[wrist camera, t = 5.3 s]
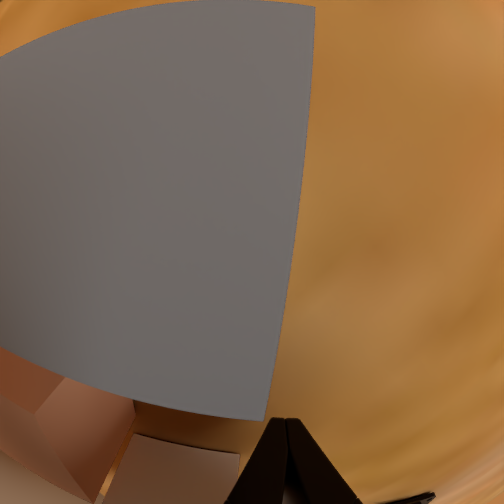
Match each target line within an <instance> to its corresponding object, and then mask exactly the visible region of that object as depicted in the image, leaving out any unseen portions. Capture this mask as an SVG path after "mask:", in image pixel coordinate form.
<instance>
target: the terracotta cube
mask: <svg viewBox="0 0 504 504" xmlns="http://www.w3.org/2000/svg"><path fill="white" fill-rule="evenodd" d="M135 416H136V414H135V409H134V404H133V400H132V399H130V398H127V397H123V396H120V395H116V394H113V393H110V392H107V391H103V390H100V389H97V388H94V387H91V386H89V385H86V384H83V383H80V382H77V381H75V380H72V379H70V378H67V377H64V376H62V375H59V374H57V373H55V372H52V371H50V370H47V369H45V368H43V367H41V366H38V365H36V364H34V363H32V362H30V361H28V360H26V359H24V358H21V357H19V356H17V355H15V354H14V353H12V352H10V351H8V350H6V349H4V348H2V347H0V450H2V451H3V452H4V453H6V454H7V455H8V456H10V457H11V458H13V459H14V460H15V461H17V462H18V463H20V464H21V465H23V466H24V467H26V468H27V469H29V470H30V471H32V472H33V473H35V474H37V475H38V476H40V477H42V478H43V479H45V480H47V481H48V482H50V483H52V484H54V485H56V486H57V487H59V488H61V489H63V490H65V491H67V492H69V493H71V494H73V495H75V496H77V497H79V498H81V499H83V500H86V501H88V502H90V503H92V504H94V502H95V500H96V498H97V496H98V494H99V491H100V489H101V487H102V485H103V483H104V481H105V478H106V476H107V474H108V472H109V470H110V468H111V466H112V464H113V461H114V459H115V457H116V455H117V453H118V451H119V449H120V447H121V445H122V443H123V441H124V439H125V436H126V434H127V432H128V430H129V428H130V426H131V424H132V422H133V420H134V418H135Z"/></svg>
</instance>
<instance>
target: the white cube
mask: <svg viewBox="0 0 504 504" xmlns="http://www.w3.org/2000/svg"><path fill="white" fill-rule="evenodd" d="M239 459H240V454H233V453H224V452H217V451H210V450H204V449H198V448H193V447H188V446H183V445H178V444H173V443H169V442H164V441H160V440H156V439H152V438H149V437H145V436H141V435H138V434H133V436H132V438H131V440H130V442H129V444H128V447H127V449H126V451H125V453H124V455H123V457H122V460H121V462H120V464H119V466H118V469H117V471H116V473H115V475H114V477H113V480H112V482H111V484H110V486H109V489H108V491H107V493H106V496H105V498H104V500H103V503H102V504H223V503H224V502H225V500H227V497H228V496H229V494H230V492H231V491H232V489H233V487H234V485H235V484H236V482H237V479H238V469H239Z"/></svg>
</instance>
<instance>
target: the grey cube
mask: <svg viewBox="0 0 504 504" xmlns="http://www.w3.org/2000/svg"><path fill="white" fill-rule="evenodd" d="M314 28H315V7H313V6H306V5H300V4H292V3H283V2H273V1H260V0H199V1H185V2H175V3H167V4H159V5H152V6H146V7H141V8H135V9H130V10H125V11H121V12H117V13H112V14H108V15H104V16H101V17H97V18H94V19H90V20H87V21H84V22H80V23H77V24H74V25H71V26H69V27H66V28H63V29H60V30H58V31H55V32H52V33H50V34H47V35H45V36H43V37H40V38H38V39H36V40H33V41H31V42H29V43H27V44H25V45H23V46H21V47H19V48H17V49H15V50H13V51H11V52H9V53H7V54H5V55H3V56H1V57H0V347H2V348H4V349H6V350H8V351H10V352H12V353H14V354H15V355H17V356H19V357H21V358H24V359H26V360H28V361H30V362H32V363H34V364H36V365H38V366H41V367H43V368H45V369H47V370H50V371H52V372H55V373H57V374H59V375H62V376H64V377H67V378H70V379H72V380H75V381H77V382H80V383H83V384H86V385H89V386H91V387H94V388H97V389H100V390H103V391H107V392H110V393H113V394H116V395H120V396H123V397H127V398H130V399H134V400H138V401H142V402H146V403H150V404H154V405H158V406H162V407H167V408H172V409H177V410H182V411H187V412H192V413H198V414H204V415H211V416H218V417H225V418H233V419H242V420H252V421H264V416H265V411H266V407H267V402H268V397H269V392H270V386H271V381H272V376H273V371H274V365H275V360H276V354H277V349H278V343H279V337H280V332H281V326H282V320H283V314H284V308H285V301H286V295H287V289H288V282H289V276H290V269H291V262H292V255H293V248H294V241H295V233H296V226H297V218H298V210H299V202H300V194H301V185H302V176H303V167H304V158H305V148H306V138H307V128H308V117H309V105H310V93H311V79H312V65H313V48H314Z"/></svg>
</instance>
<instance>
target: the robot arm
mask: <svg viewBox="0 0 504 504" xmlns="http://www.w3.org/2000/svg"><path fill="white" fill-rule="evenodd" d="M435 497H436V496H435V493H434V492H432V493H429V494H426V495H423V496H420V497H416V498H413V499H409V500H406V501H402V502H398V503H394V504H428V503H429V502H430V501H432V500H433V499H434V498H435ZM356 498H357V496H356V495H355V493H354V492H353V491H352V489H351V488H350V487H349V486H348V484H347V483H346V482H345V480H344V479H343V478H342V477H341V475H340V474H339V473H338V471H337V470H336V469H335V467H334V466H333V465H332V463H331V462H330V461H329V459H328V458H327V457H326V455H325V454H324V452H323V451H322V450H321V448H320V447H319V446H318V444H317V443H316V441H315V440H314V439H313V437H312V436H311V434H310V433H309V432H308V430H307V429H306V427H305V426H304V425H303V423H302V422H301V420H300V419H298V418H286V419H284V418H277V417H272V418H271V419H270V420H269V422H268V424H267V426H266V428H265V430H264V432H263V434H262V436H261V438H260V440H259V442H258V444H257V446H256V448H255V450H254V451H253V453H252V455H251V457H250V459H249V461H248V463H247V464H246V466H245V468H244V470H243V471H242V473H241V475H240V477H239V479H238V480H237V482H236V484H235V485H234V487H233V489H232V491H231V492H230V494H229V496H228V497H227V500H225V502H224V503H223V504H363V503H362V502H361V501H360V499H359V498H357V499H356Z"/></svg>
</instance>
